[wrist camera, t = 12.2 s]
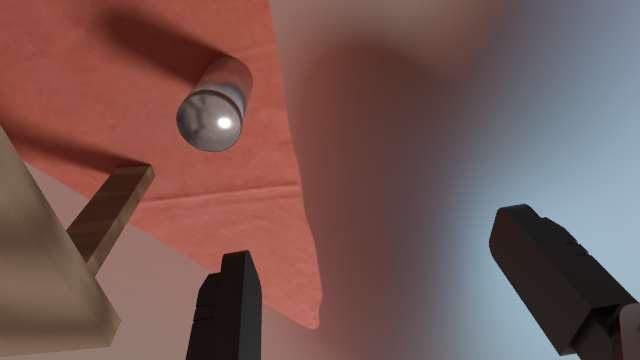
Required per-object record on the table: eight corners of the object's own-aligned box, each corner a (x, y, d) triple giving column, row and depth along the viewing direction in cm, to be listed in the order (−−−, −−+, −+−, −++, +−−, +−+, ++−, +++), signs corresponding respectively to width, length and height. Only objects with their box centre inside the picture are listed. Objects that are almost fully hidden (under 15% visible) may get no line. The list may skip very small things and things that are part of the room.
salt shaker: (200, 58, 34) (168, 96, 25) (249, 54, 34) (234, 91, 25) (211, 104, 37) (185, 154, 28) (256, 101, 37) (246, 149, 28)
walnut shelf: (26, -37, 29) (-423, -16, 11) (122, -41, 29) (-155, -29, 11) (121, 178, 41) (-12, 357, 23) (188, 173, 41) (109, 346, 23)
